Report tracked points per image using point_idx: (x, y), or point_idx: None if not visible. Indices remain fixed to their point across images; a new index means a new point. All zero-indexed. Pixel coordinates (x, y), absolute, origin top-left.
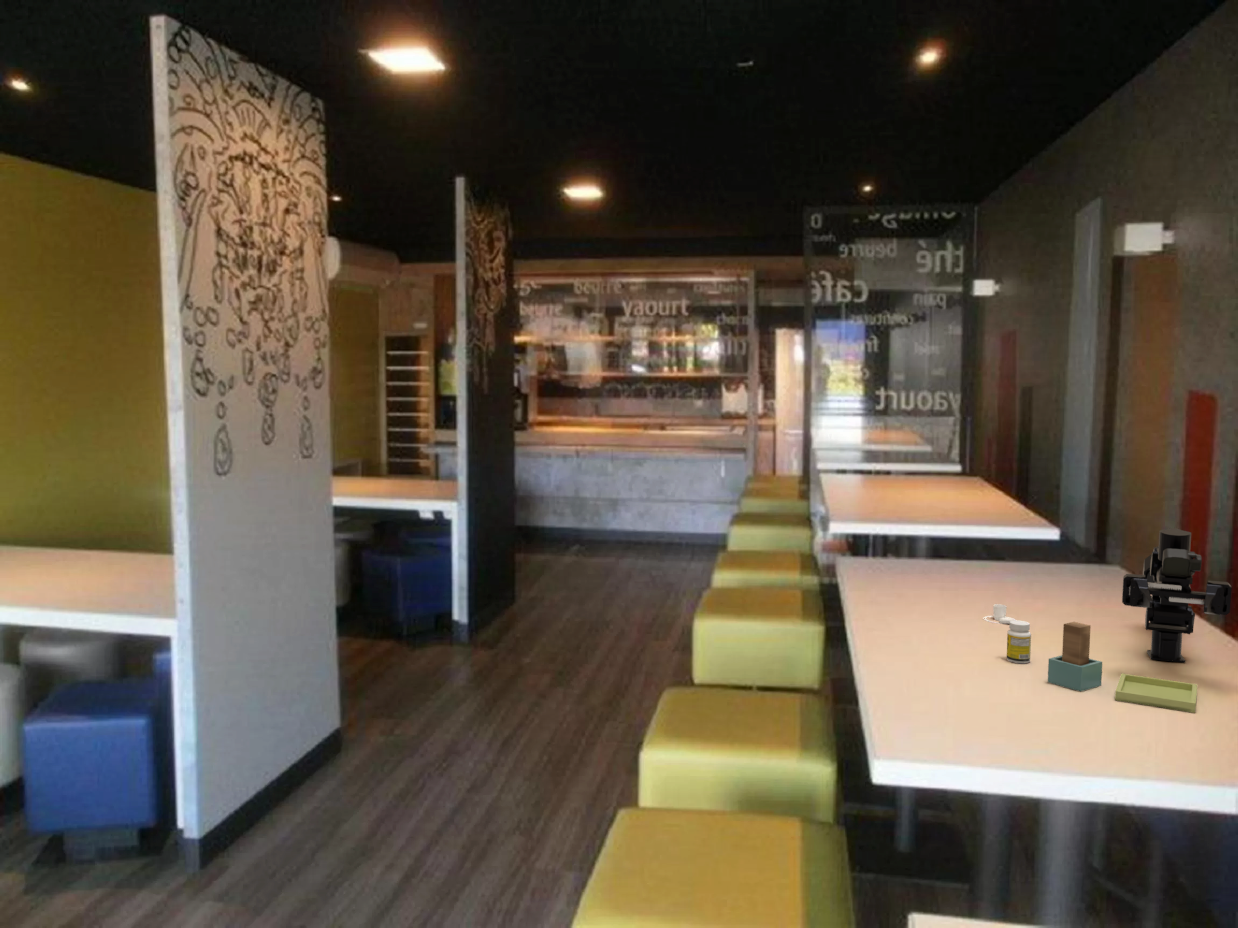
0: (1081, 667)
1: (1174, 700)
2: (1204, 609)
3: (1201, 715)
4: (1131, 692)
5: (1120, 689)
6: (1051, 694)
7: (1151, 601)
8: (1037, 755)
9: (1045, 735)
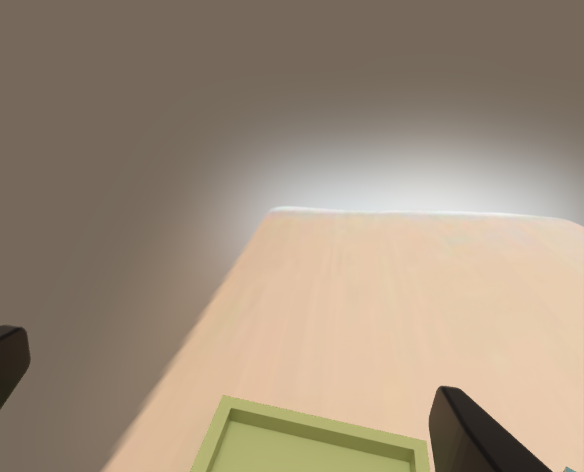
0: (567, 467)
1: (272, 407)
2: (24, 351)
3: (211, 402)
4: (383, 441)
5: (416, 461)
6: (579, 461)
7: (446, 390)
8: (453, 234)
9: (469, 271)
